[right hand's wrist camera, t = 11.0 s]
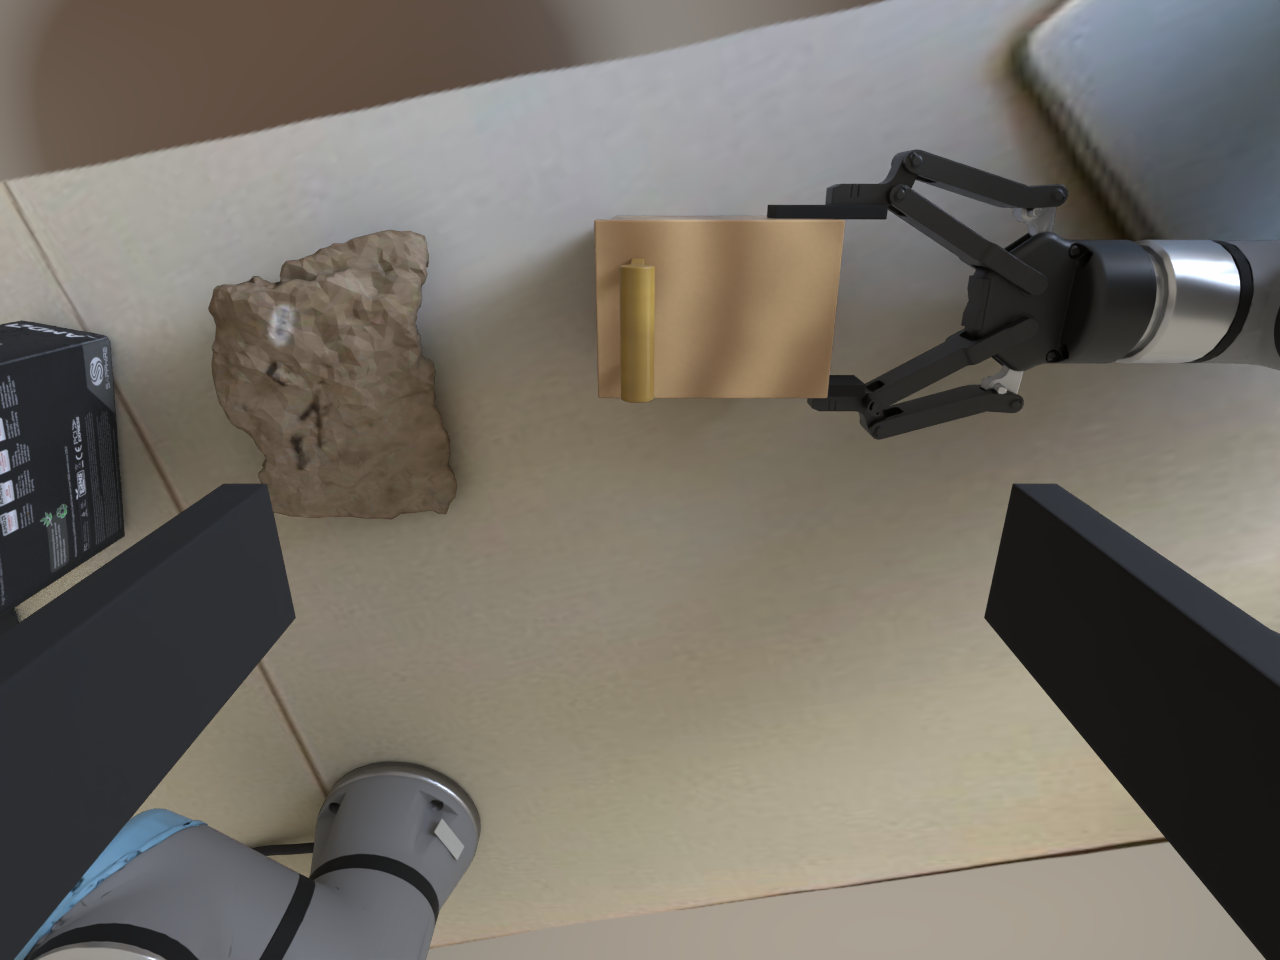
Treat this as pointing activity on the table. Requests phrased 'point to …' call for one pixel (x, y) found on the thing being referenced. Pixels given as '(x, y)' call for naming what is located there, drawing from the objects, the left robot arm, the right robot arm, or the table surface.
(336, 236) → the table surface
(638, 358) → the lid
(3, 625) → the robot
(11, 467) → the graphics card box
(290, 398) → the stone
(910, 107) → the table surface
